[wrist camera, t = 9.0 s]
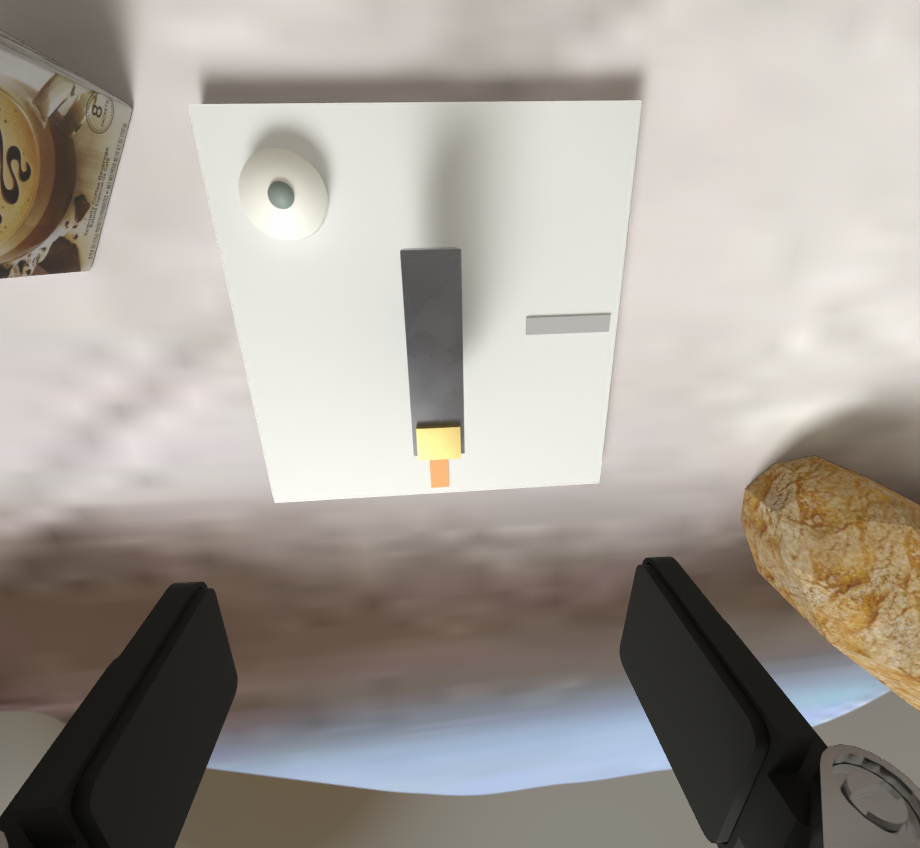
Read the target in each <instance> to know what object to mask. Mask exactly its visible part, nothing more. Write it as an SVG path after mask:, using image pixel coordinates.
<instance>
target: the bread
mask: <svg viewBox="0 0 920 848" xmlns="http://www.w3.org/2000/svg"><path fill="white" fill-rule="evenodd" d="M741 522H742V525H743V528H744V531H745V534H746V537H747V540H748V543H749V546H750V548H751V551H752V554H753V557H754V560H755V563H756V566H757V569H758V572H759V573H760V574H761V575H762V576H763V577H764V578H765V579H766V580H767V581H768V582H769V583H770V584H771V585H772V586H773V587H774V588H775V589H776V590H777V591H778V592H779V593H780V594H781V595H782V596H783V597H784V598H785V599H786V600H787V601H788V602H789V603H790V604H791V605H792V606H793V607H794V608H795V609H796V610H797V611H798V612H799V613H800V614H801V615H802V616H803V617H804V618H805V619H806V620H807V621H808V622H809V623H810V624H811V625H812V626H813V627H814V628H815V629H816V630H817V631H818V632H819V633H820V634H821V635H822V636H823V637H824V638H825V639H826V640H827V641H828V642H830V643H831V644H832V645H833V646H835V647H836V648H837V649H839V650H840V651H841V652H843V653H844V654H845V655H846V656H848V657H849V658H850V659H852V660H853V661H854V662H856V663H857V664H858V665H859V666H861V667H862V668H863V669H865V670H866V671H867V672H869V673H870V674H871V675H872V676H874V677H875V678H876V679H878V680H879V681H880V682H882V683H883V684H884V685H885V686H887V687H888V688H889V689H891V690H892V691H893V692H895V693H896V694H897V695H898V696H900V697H901V698H903V699H904V700H905V701H906V702H908V703H909V704H910V705H912V706H913V707H914V708H915V709H917V710H918V711H919V712H920V505H918V504H916V503H914V502H912V501H911V500H909V499H907V498H905V497H903V496H901V495H899V494H898V493H896V492H894V491H892V490H890V489H888V488H886V487H885V486H883V485H881V484H879V483H877V482H875V481H873V480H872V479H869V478H867V477H865V476H862V475H860V474H858V473H855V472H853V471H850V470H848V469H846V468H843V467H841V466H839V465H836V464H834V463H832V462H829V461H827V460H825V459H822V458H820V457H818V456H810V457H805V458H800V459H795V460H790V461H785V462H780V463H774V464H773V465H772V466H771V467H769V468H768V469H767V470H766V471H765V472H764V473H763V474H761V475H760V476H759V477H758V478H757V479H756V480H755V481H754V482H752V483H751V484H750V485H749V486H748V487H747V488H746V489H745V493H744V500H743V508H742V515H741Z"/></svg>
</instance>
